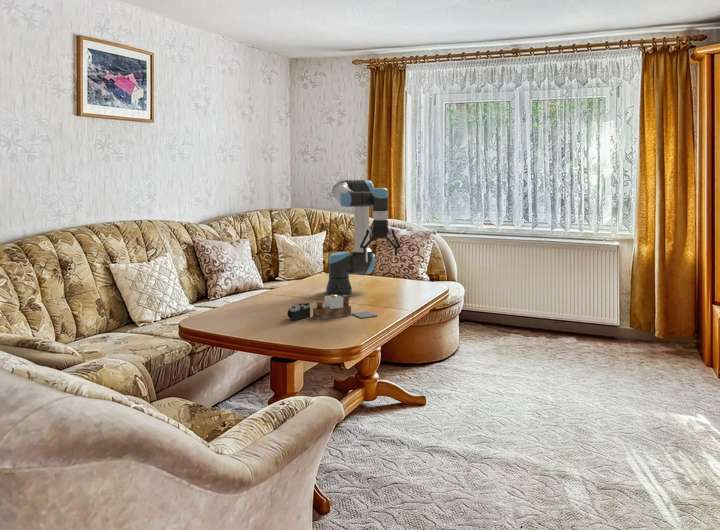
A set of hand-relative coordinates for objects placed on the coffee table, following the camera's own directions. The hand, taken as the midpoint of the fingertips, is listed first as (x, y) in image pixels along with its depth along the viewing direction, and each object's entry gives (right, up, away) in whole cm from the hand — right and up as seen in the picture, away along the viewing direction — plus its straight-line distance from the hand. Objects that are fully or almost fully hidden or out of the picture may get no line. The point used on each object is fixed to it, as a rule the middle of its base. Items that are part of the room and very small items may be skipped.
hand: (380, 262), depth 288 cm
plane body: (-24, -26, -8) cm, 36 cm away
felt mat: (-8, -26, -7) cm, 28 cm away
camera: (-40, -27, -14) cm, 50 cm away
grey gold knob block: (-23, -22, -9) cm, 33 cm away
